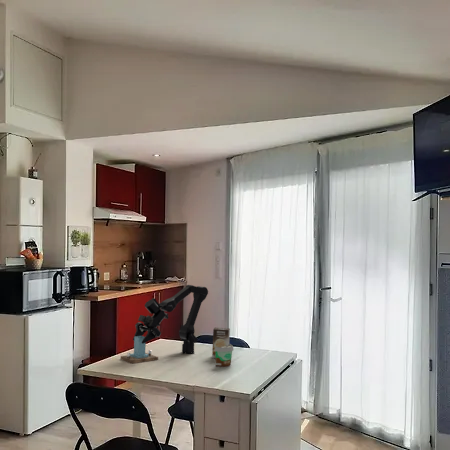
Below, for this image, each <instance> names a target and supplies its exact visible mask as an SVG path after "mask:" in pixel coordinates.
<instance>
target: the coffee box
mask: <svg viewBox="0 0 450 450" xmlns="http://www.w3.org/2000/svg"><path fill="white" fill-rule="evenodd" d="M230 332H231V329H230V328H227V327H213V331H212V349H211V351H212V353H211V354H212V355H211V358H212V359H216V353H215V347H222V346H228V344H230V335H231V334H230Z"/></svg>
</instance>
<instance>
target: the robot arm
mask: <svg viewBox="0 0 450 450" xmlns="http://www.w3.org/2000/svg"><path fill="white" fill-rule="evenodd" d="M208 289H209V288H207V287H205V286H202V285H200V286H199V285H197V286H195V285H192V284H186V285H185V286H184V288H182V289H181V290H180V291H178V292H177V293H176V294H174V295H173V296H171V297H169V298H166V299H165V300H162V301H161V302H160V303H159V302H158V301H157V300H156V298H154V297H152V298H151V299H149V300H148V301H146V302H145V304H144V307H145V309H146V310H147V311H148V312H149V313H150V314H151V315H146V316H145V315H142V314H140V315H139V317H138V320H137V321H138V322H136V323H135V325H134V326H135V333H134V336H133V338H132V341H134V337H135V336H144V335H145V333H146V335H145V336H144V337H145V338H144V339H143V341H142V343H143V344H144V343H146V344H147V343H148V342H149V341H152V340H154V339H156V338H159V337H161V335H162V331H161V330H159V328H158V327H160V326H161V322H162V321H163V320H164V319H167V320H168V319H169V313H171V312H173V311H174V310H175V309H176V308H177V305H178V304H179V303H180V302H182V301H183V300H184V299H185V298H186V297H188V296H189V295H190V294H192V296H193V301H192V305H191V307H190V309H189V310H190V311H189V312H188V315H187V316H188V317H187V319H186V320H185V321H186V322H185V323H184V325H182V324H180V329H179V330H178V335H179V338H180V341H181V342H183V343H182V346H181V352H182V354H192V355H194V354H195V343H197V342H198V338H197V337H196V336H195V324H196V321H197V318H198V314H199V312H200V309H201V307H202V306H201V305H202V303H203V302H204V301H205V300H206V299H207V297H208V295H209V290H208ZM166 312H168V313H166Z"/></svg>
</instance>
